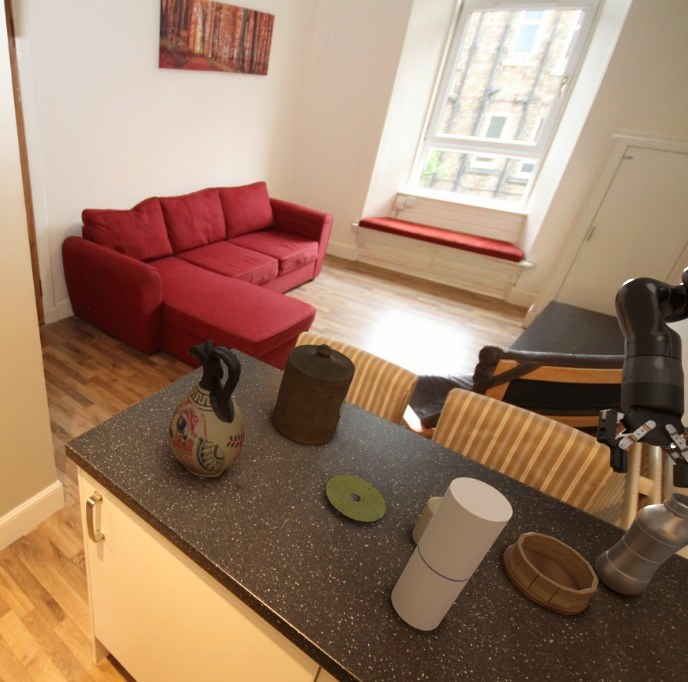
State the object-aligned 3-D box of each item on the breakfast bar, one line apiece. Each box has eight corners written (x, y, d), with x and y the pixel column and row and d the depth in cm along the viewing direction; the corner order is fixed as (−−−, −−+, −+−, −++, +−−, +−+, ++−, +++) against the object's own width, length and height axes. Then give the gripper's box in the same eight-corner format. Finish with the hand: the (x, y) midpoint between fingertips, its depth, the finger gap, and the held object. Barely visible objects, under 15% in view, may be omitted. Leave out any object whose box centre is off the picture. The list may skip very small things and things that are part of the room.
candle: (407, 525, 84) (426, 488, 79) (437, 530, 83) (458, 493, 78) (417, 551, 79) (437, 514, 74) (449, 557, 79) (472, 519, 74)
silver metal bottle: (587, 581, 76) (659, 502, 66) (590, 556, 81) (657, 478, 71) (637, 608, 73) (720, 528, 63) (637, 581, 77) (714, 502, 67)
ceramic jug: (151, 454, 95) (158, 332, 80) (206, 428, 104) (222, 313, 89) (202, 509, 84) (221, 378, 69) (259, 475, 92) (287, 352, 77)
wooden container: (347, 439, 104) (375, 359, 93) (293, 450, 99) (315, 368, 88) (311, 400, 116) (332, 326, 105) (261, 409, 111) (277, 332, 100)
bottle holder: (567, 560, 80) (582, 542, 77) (600, 626, 70) (618, 608, 67) (493, 539, 83) (504, 521, 80) (514, 599, 73) (528, 581, 70)
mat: (358, 476, 94) (360, 470, 93) (396, 520, 85) (399, 513, 84) (312, 487, 90) (314, 480, 89) (347, 534, 81) (349, 527, 80)
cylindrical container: (392, 619, 68) (454, 510, 56) (390, 578, 74) (446, 470, 62) (443, 638, 67) (519, 529, 54) (436, 594, 72) (504, 487, 60)
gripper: (620, 372, 76) (617, 467, 72) (723, 392, 73) (725, 493, 69) (589, 381, 83) (584, 468, 79) (681, 399, 80) (681, 491, 76)
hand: (650, 479), depth 74 cm, fingers open, 8 cm apart
